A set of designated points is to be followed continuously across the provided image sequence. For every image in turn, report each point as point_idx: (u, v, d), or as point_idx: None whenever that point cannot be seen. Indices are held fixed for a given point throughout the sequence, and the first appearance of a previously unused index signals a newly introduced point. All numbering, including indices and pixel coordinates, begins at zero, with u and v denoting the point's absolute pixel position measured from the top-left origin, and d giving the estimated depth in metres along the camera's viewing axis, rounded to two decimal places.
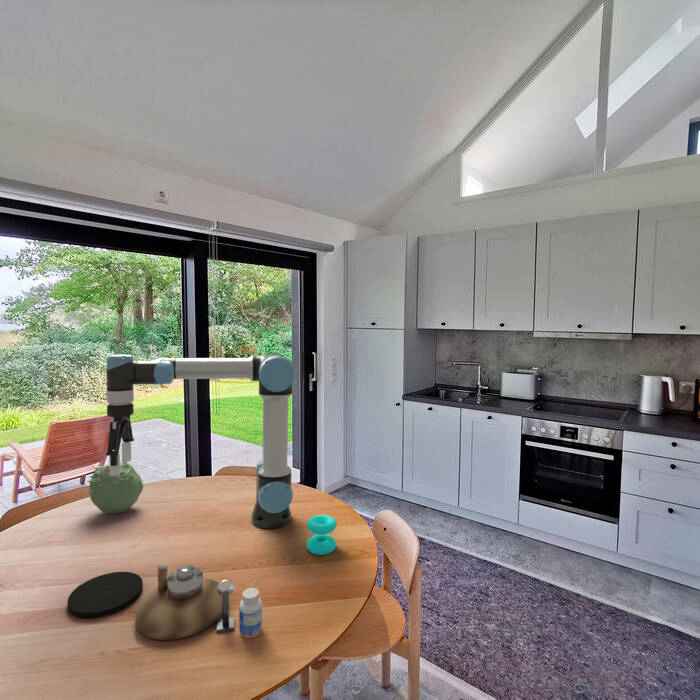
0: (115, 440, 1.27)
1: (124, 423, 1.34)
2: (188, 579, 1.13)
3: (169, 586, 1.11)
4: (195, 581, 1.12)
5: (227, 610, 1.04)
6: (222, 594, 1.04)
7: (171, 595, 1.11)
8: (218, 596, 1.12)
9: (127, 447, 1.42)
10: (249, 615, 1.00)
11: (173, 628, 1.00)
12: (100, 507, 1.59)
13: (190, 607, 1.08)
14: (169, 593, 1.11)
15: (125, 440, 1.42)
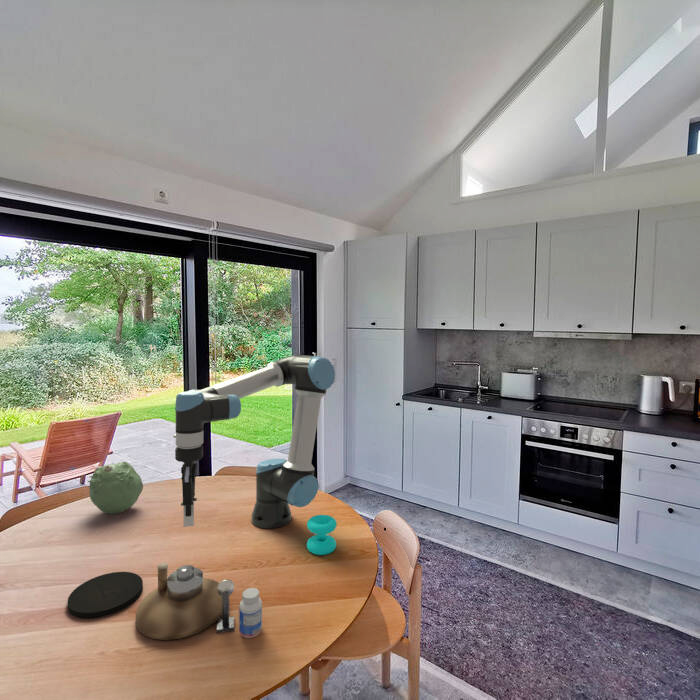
0: (189, 493, 1.18)
1: (194, 470, 1.21)
2: (188, 579, 1.13)
3: (169, 586, 1.11)
4: (195, 581, 1.12)
5: (227, 610, 1.04)
6: (222, 594, 1.04)
7: (171, 595, 1.11)
8: (218, 596, 1.12)
9: None
10: (249, 615, 1.00)
11: (173, 628, 1.00)
12: (100, 507, 1.59)
13: (190, 607, 1.08)
14: (169, 593, 1.11)
15: None
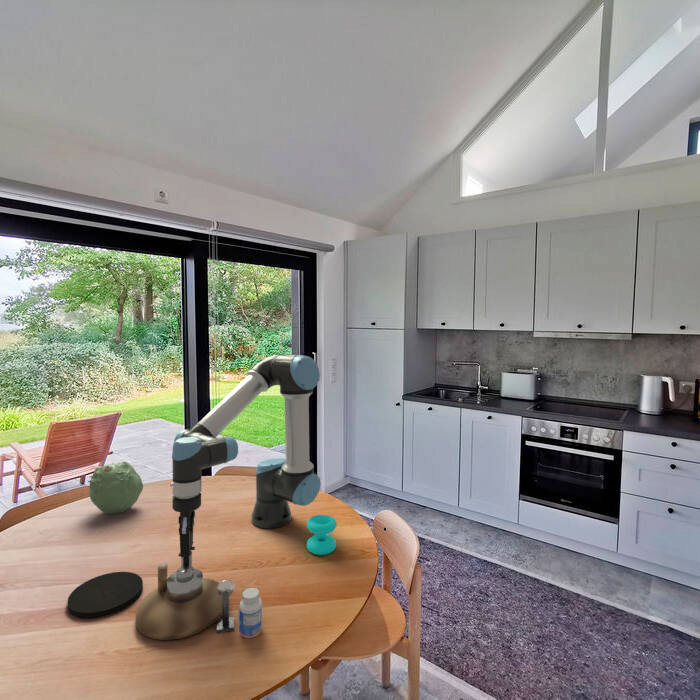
0: (187, 545, 1.14)
1: (192, 519, 1.17)
2: (188, 580, 1.12)
3: (169, 587, 1.10)
4: (195, 582, 1.12)
5: (227, 610, 1.04)
6: (222, 594, 1.04)
7: (171, 596, 1.10)
8: (218, 596, 1.12)
9: None
10: (249, 615, 1.00)
11: (173, 628, 1.00)
12: (100, 507, 1.59)
13: (190, 607, 1.08)
14: (169, 594, 1.11)
15: None
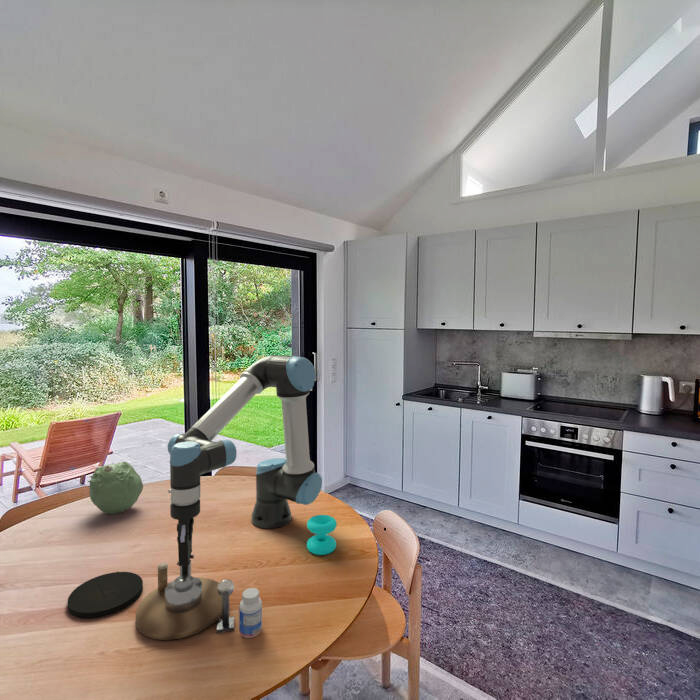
0: (186, 553, 1.10)
1: (191, 527, 1.13)
2: (186, 590, 1.08)
3: (167, 597, 1.06)
4: (194, 592, 1.08)
5: (227, 610, 1.04)
6: (222, 594, 1.04)
7: (169, 606, 1.06)
8: (218, 596, 1.12)
9: None
10: (249, 615, 1.00)
11: (173, 628, 1.00)
12: (100, 507, 1.59)
13: None
14: (167, 604, 1.07)
15: None
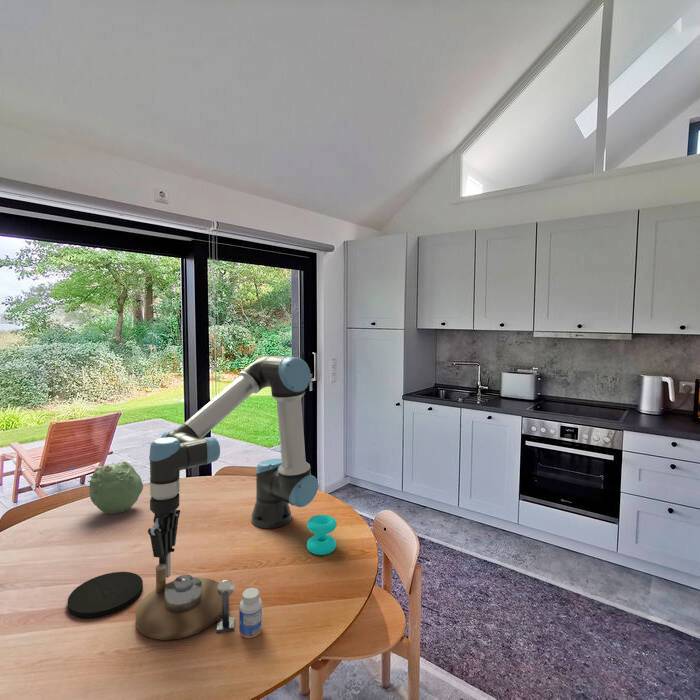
0: (158, 546, 1.13)
1: (166, 521, 1.15)
2: (187, 589, 1.08)
3: (167, 597, 1.06)
4: (194, 591, 1.08)
5: (227, 610, 1.04)
6: (222, 594, 1.04)
7: (169, 607, 1.06)
8: (218, 595, 1.13)
9: None
10: (249, 615, 1.00)
11: (175, 627, 1.01)
12: (100, 507, 1.59)
13: None
14: (167, 605, 1.06)
15: None
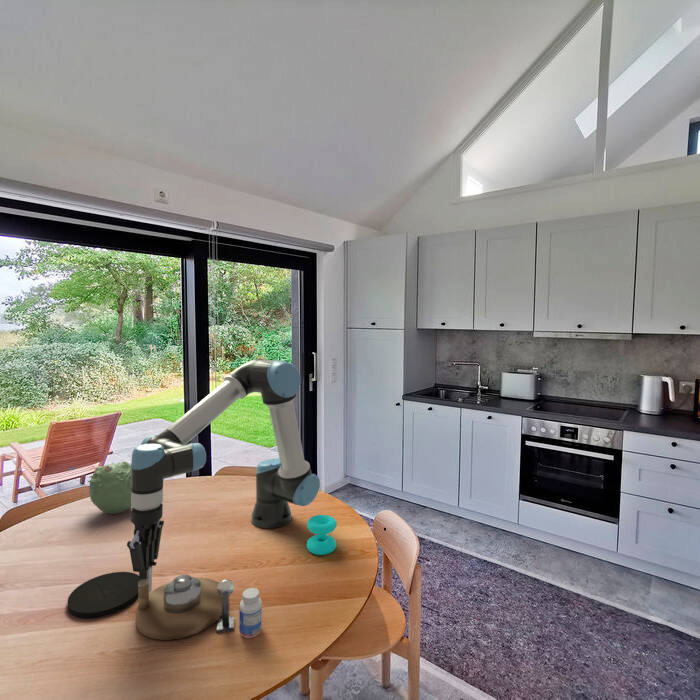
0: (138, 560, 1.06)
1: (148, 533, 1.08)
2: (190, 586, 1.10)
3: (177, 600, 1.05)
4: (199, 584, 1.11)
5: (227, 610, 1.04)
6: (222, 594, 1.04)
7: (181, 608, 1.06)
8: (207, 584, 1.18)
9: None
10: (249, 615, 1.00)
11: (205, 617, 1.04)
12: (100, 507, 1.59)
13: None
14: (177, 607, 1.05)
15: None
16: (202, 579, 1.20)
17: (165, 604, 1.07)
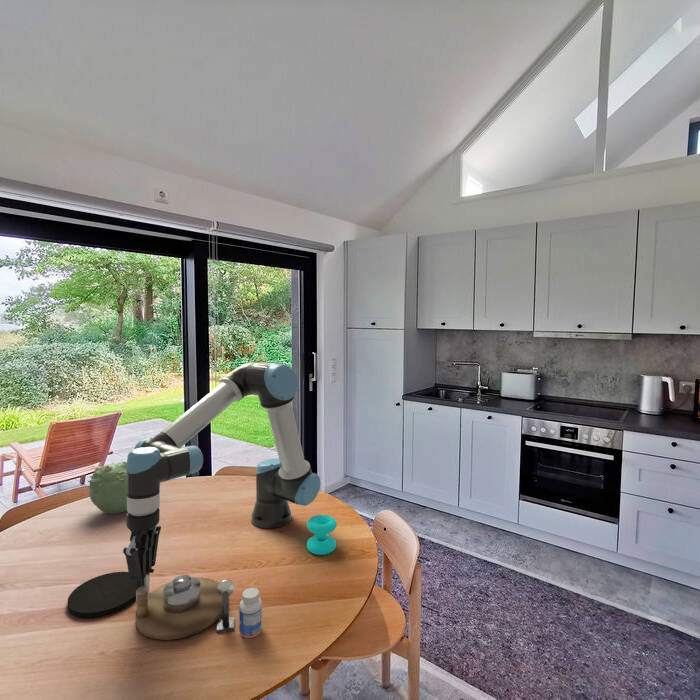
0: (134, 568, 1.03)
1: (144, 539, 1.05)
2: (191, 584, 1.10)
3: (183, 599, 1.06)
4: (197, 581, 1.12)
5: (227, 610, 1.04)
6: (222, 594, 1.04)
7: (187, 606, 1.06)
8: None
9: None
10: (249, 615, 1.00)
11: (214, 609, 1.07)
12: (100, 507, 1.59)
13: None
14: (183, 606, 1.06)
15: None
16: None
17: (168, 607, 1.06)
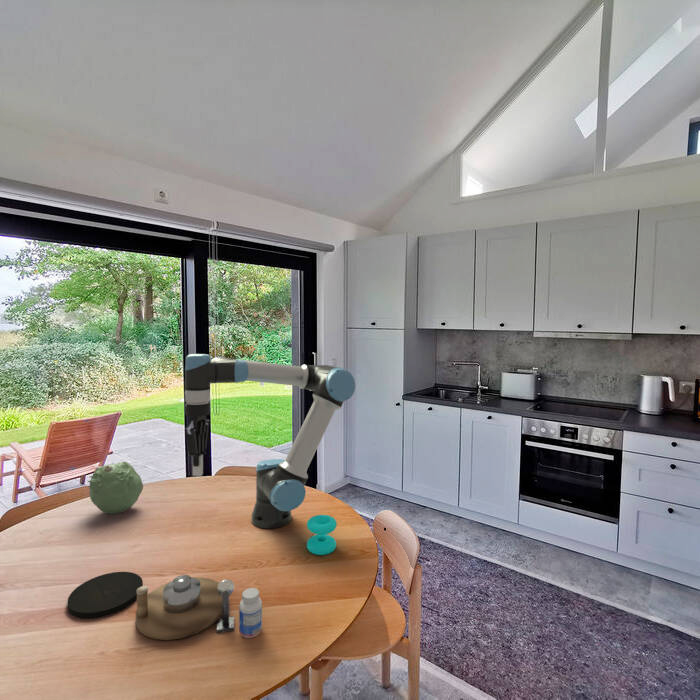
0: (193, 445, 1.31)
1: (200, 424, 1.33)
2: (191, 584, 1.10)
3: (183, 599, 1.06)
4: (197, 581, 1.12)
5: (227, 610, 1.04)
6: (222, 594, 1.04)
7: (187, 606, 1.06)
8: None
9: None
10: (249, 615, 1.00)
11: (214, 609, 1.07)
12: (100, 507, 1.59)
13: None
14: (183, 606, 1.06)
15: None
16: None
17: (168, 607, 1.06)
